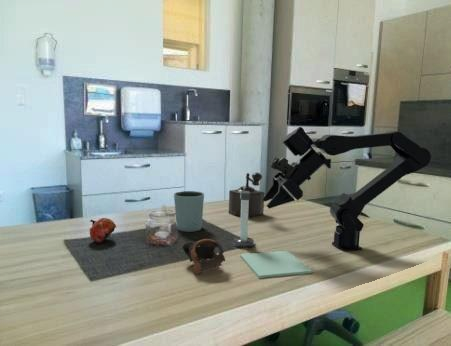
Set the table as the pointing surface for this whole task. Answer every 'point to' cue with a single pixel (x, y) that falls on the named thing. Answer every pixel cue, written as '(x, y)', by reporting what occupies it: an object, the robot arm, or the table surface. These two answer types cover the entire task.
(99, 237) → the red ribbed fruit
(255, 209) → the pepper mill
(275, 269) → the rest mat
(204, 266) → the pottery mug
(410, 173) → the robot arm
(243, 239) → the square pillar on disc
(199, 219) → the green cup
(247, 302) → the table surface
